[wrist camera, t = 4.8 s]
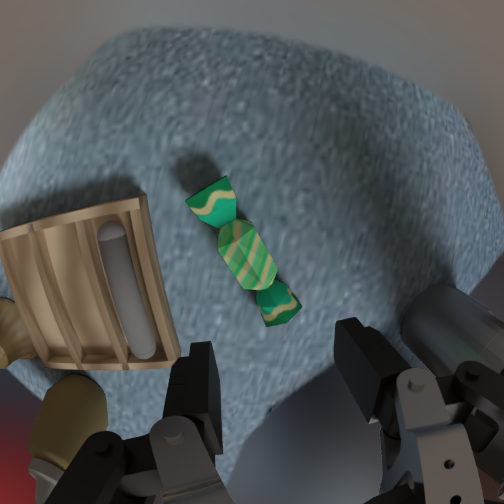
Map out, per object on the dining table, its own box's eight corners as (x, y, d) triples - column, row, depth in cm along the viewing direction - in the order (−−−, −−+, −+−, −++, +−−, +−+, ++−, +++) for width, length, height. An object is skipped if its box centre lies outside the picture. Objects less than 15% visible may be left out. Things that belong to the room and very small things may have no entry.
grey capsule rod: (127, 215, 20) (117, 221, 18) (160, 347, 24) (157, 363, 22) (101, 220, 20) (89, 226, 18) (137, 349, 24) (132, 365, 21)
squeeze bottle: (118, 382, 26) (79, 522, 9) (112, 419, 28) (86, 534, 11) (56, 355, 24) (-10, 474, 7) (58, 396, 26) (13, 500, 9)
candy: (188, 196, 22) (182, 203, 18) (225, 174, 22) (227, 176, 18) (261, 310, 25) (268, 334, 22) (293, 291, 25) (306, 313, 21)
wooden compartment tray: (146, 194, 21) (138, 197, 18) (181, 351, 25) (179, 367, 23) (9, 227, 19) (-6, 233, 17) (53, 355, 24) (45, 367, 22)
